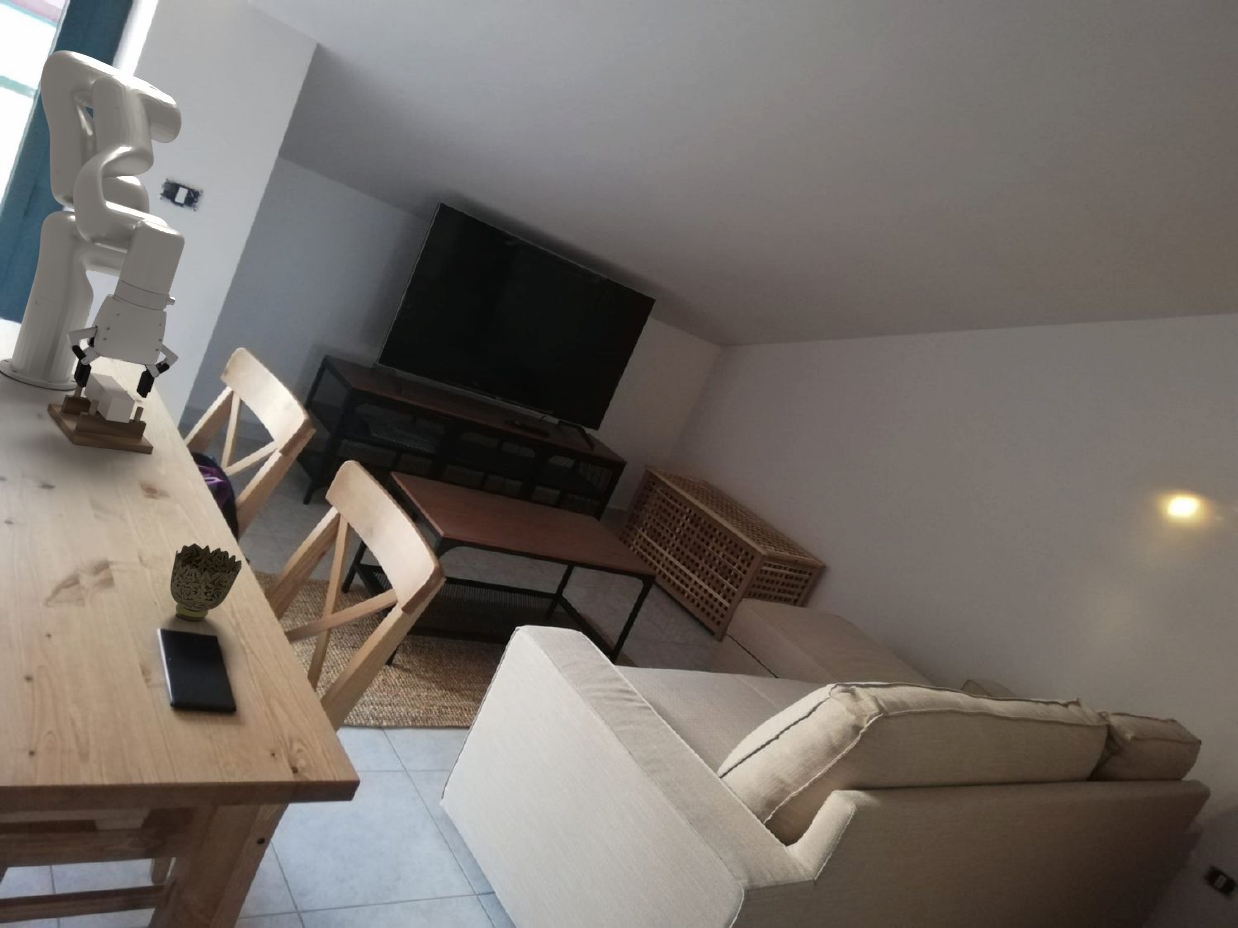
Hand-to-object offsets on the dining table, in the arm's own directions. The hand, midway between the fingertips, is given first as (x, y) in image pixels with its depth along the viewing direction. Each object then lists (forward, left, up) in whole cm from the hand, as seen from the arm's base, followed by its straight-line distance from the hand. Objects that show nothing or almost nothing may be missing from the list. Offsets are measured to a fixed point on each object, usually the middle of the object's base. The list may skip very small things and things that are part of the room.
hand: (111, 390), depth 146 cm
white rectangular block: (0, 0, -3) cm, 3 cm away
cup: (+61, -8, -8) cm, 62 cm away
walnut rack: (0, 0, -8) cm, 8 cm away
